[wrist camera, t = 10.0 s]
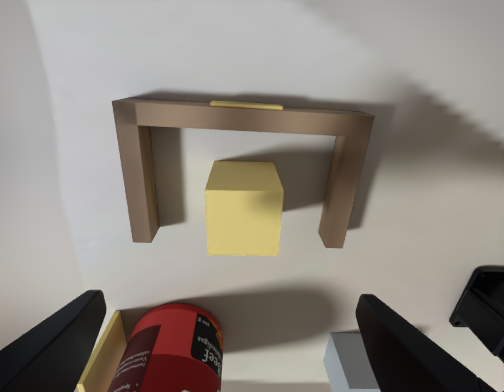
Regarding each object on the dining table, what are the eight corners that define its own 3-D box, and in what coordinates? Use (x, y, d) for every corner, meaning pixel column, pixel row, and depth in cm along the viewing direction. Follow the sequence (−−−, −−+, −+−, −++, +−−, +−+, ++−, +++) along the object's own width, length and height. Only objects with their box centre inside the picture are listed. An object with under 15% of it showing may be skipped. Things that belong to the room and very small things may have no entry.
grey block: (371, 332, 26) (399, 388, 21) (361, 360, 27) (385, 417, 23) (330, 332, 25) (349, 388, 21) (323, 359, 27) (339, 417, 22)
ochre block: (273, 162, 18) (283, 191, 14) (269, 213, 20) (278, 255, 15) (214, 160, 18) (204, 190, 13) (215, 213, 20) (207, 255, 15)
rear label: (119, 310, 23) (82, 383, 18) (127, 349, 25) (96, 425, 20) (115, 310, 23) (76, 384, 18) (123, 349, 25) (90, 425, 20)
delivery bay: (360, 108, 17) (375, 112, 15) (333, 232, 21) (342, 248, 19) (126, 94, 16) (111, 97, 14) (143, 226, 20) (133, 242, 18)
